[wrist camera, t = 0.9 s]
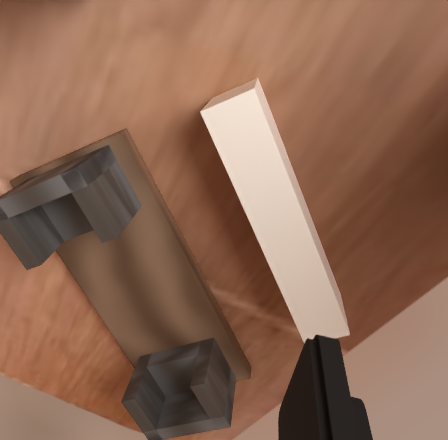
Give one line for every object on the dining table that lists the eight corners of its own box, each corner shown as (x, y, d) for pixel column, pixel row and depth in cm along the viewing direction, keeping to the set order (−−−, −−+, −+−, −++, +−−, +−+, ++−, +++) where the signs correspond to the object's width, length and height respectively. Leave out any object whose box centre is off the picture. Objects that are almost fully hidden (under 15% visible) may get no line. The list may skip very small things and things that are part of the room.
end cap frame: (126, 128, 35) (90, 153, 28) (251, 367, 45) (246, 427, 39) (19, 175, 38) (-37, 208, 31) (158, 388, 48) (139, 447, 42)
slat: (212, 97, 33) (200, 111, 28) (258, 77, 32) (254, 88, 27) (301, 303, 41) (305, 345, 36) (340, 293, 40) (350, 335, 35)
